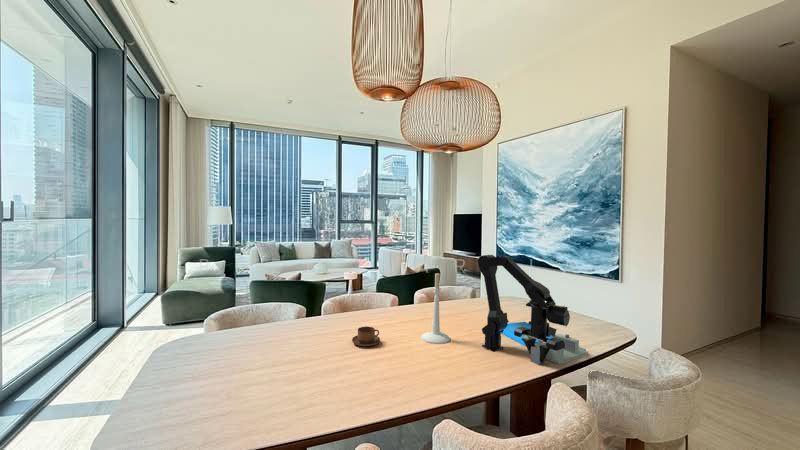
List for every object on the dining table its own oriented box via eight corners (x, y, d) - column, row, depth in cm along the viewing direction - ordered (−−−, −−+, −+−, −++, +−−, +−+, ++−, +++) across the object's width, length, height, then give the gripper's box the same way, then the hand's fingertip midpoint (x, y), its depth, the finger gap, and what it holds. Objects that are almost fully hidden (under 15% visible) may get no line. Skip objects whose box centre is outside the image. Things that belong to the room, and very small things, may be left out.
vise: (558, 364, 129) (559, 349, 128) (533, 354, 138) (534, 340, 138) (588, 354, 139) (588, 340, 139) (562, 345, 148) (563, 332, 148)
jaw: (574, 353, 136) (575, 338, 136) (554, 346, 143) (555, 332, 143) (578, 352, 137) (579, 337, 137) (558, 345, 145) (559, 331, 145)
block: (539, 365, 127) (540, 349, 127) (530, 361, 131) (530, 346, 130) (544, 363, 129) (544, 348, 129) (535, 359, 132) (535, 344, 132)
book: (524, 321, 171) (564, 337, 147) (524, 330, 171) (563, 347, 147) (496, 324, 165) (533, 341, 141) (495, 333, 165) (532, 351, 141)
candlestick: (440, 346, 144) (442, 276, 143) (415, 339, 151) (417, 272, 151) (454, 338, 154) (456, 272, 153) (431, 331, 162) (432, 269, 161)
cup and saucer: (366, 336, 154) (366, 323, 153) (385, 343, 146) (386, 329, 146) (346, 343, 144) (346, 329, 144) (365, 351, 137) (366, 336, 137)
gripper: (574, 323, 126) (573, 364, 126) (531, 311, 141) (530, 347, 142) (556, 327, 120) (554, 371, 120) (513, 314, 136) (512, 352, 136)
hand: (537, 359), depth 130 cm, fingers closed on block, 4 cm apart
